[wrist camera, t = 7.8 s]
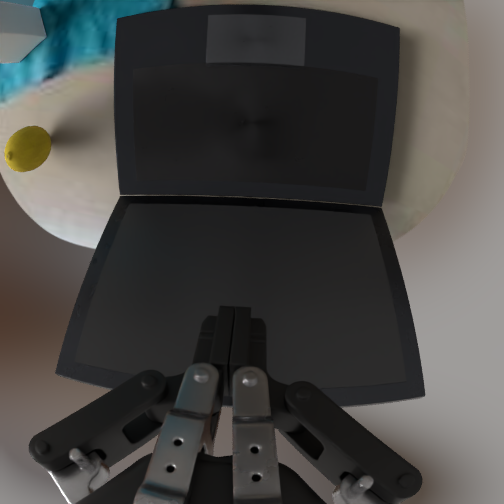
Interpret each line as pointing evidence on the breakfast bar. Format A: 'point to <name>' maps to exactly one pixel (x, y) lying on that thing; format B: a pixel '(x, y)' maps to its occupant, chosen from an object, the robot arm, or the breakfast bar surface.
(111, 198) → the breakfast bar surface
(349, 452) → the robot arm
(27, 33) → the milk
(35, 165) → the lemon
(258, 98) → the laptop
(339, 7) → the breakfast bar surface
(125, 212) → the laptop screen
